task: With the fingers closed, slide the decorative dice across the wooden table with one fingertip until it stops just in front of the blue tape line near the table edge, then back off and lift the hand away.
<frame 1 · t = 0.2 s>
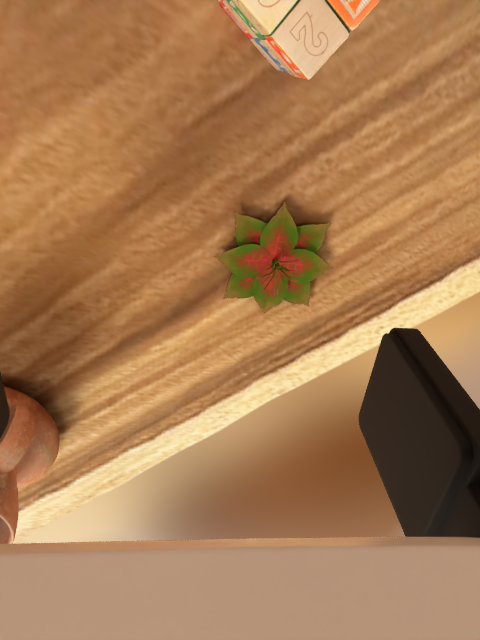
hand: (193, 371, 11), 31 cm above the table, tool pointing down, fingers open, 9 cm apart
lily flower: (273, 258, 43), on the table
ceramic jug: (3, 415, 51), on the table
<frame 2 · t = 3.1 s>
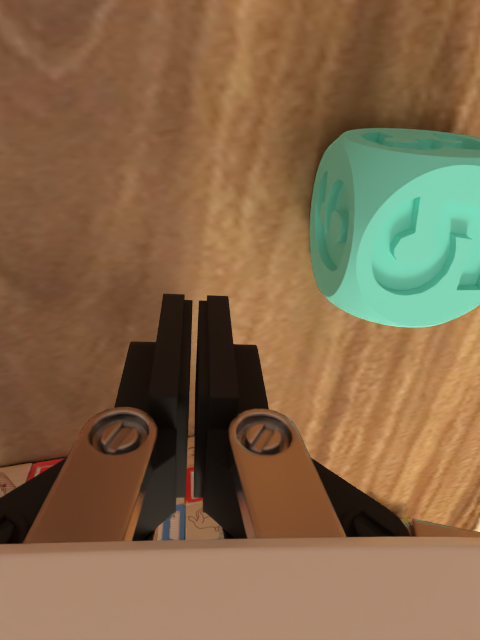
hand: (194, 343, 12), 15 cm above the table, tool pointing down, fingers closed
decorative dice: (375, 199, 27), on the table
stack of blocks: (102, 474, 37), on the table
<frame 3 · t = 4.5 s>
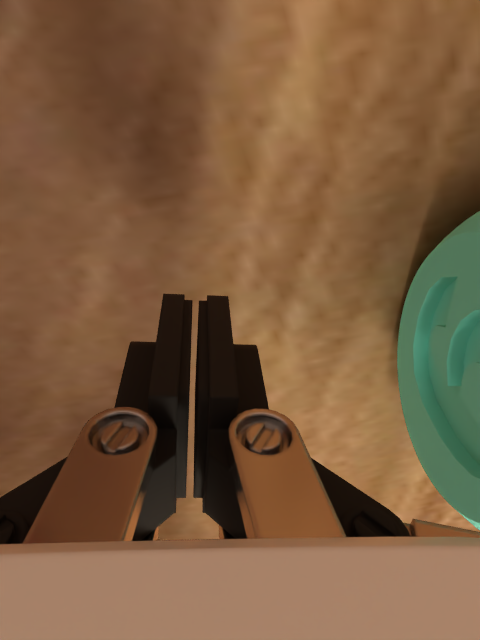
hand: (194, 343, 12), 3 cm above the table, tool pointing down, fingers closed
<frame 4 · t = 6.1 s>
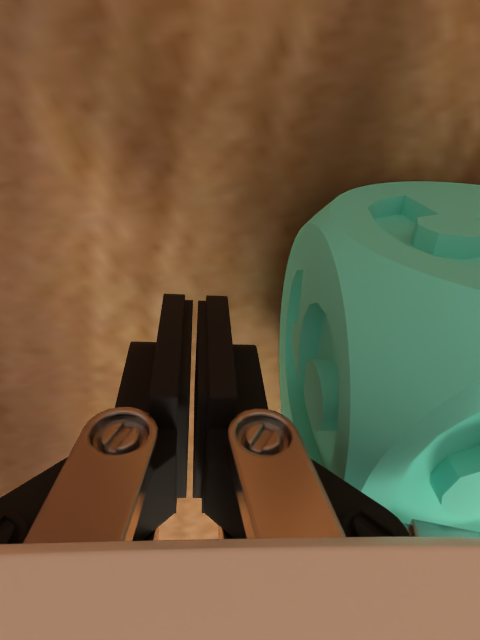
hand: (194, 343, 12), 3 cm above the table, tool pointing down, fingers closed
decorative dice: (393, 294, 15), on the table, touching gripper
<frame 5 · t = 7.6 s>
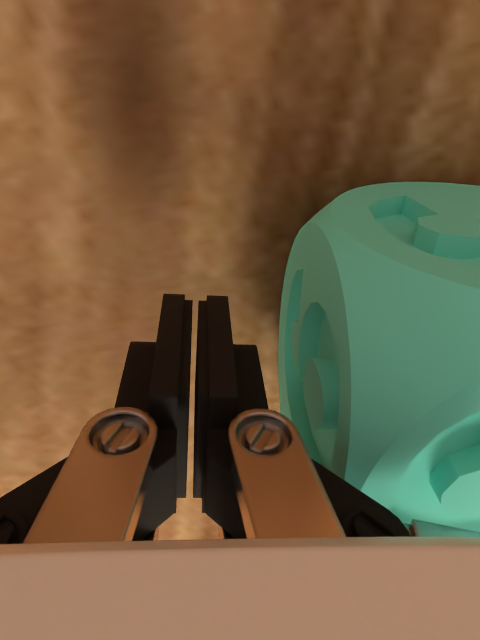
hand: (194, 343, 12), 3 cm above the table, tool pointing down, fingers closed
decorative dice: (392, 294, 16), on the table, touching gripper
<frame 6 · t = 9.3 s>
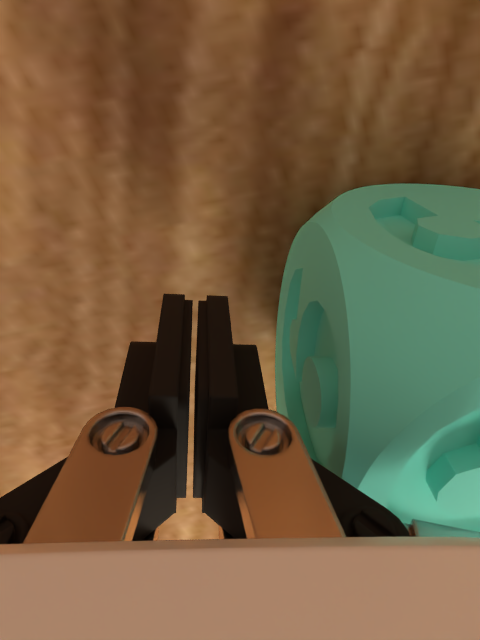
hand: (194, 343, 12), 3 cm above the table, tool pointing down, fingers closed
decorative dice: (389, 295, 16), on the table, touching gripper, tape line
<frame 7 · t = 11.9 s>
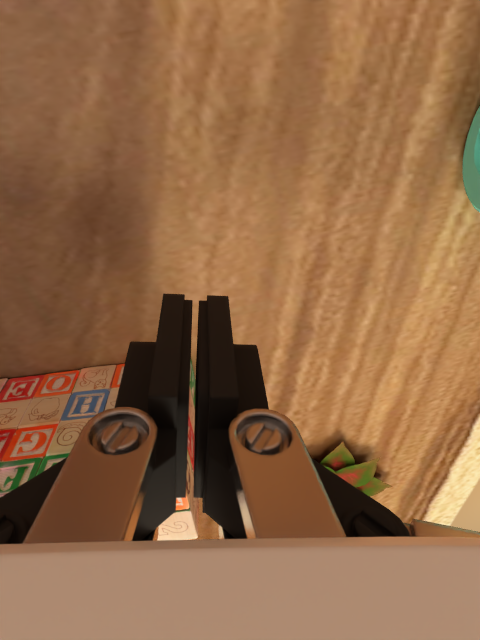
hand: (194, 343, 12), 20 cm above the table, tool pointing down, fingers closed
lily flower: (329, 478, 45), on the table
stack of blocks: (75, 396, 38), on the table
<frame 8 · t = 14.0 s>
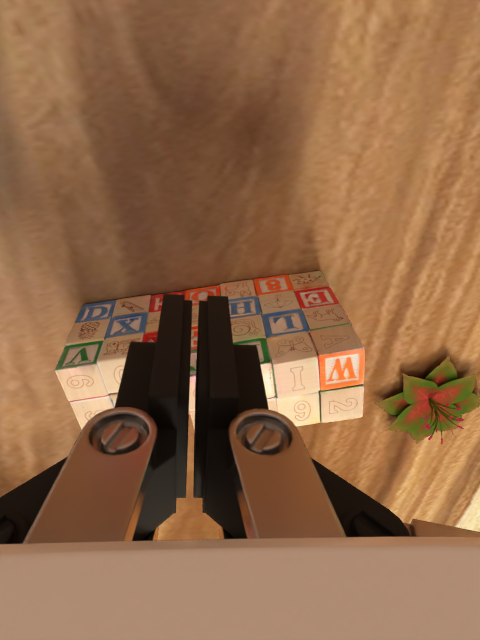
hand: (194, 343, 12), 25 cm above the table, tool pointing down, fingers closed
lily flower: (428, 397, 48), on the table
stack of blocks: (208, 314, 41), on the table
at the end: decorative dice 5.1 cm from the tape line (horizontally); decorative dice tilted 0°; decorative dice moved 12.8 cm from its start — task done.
